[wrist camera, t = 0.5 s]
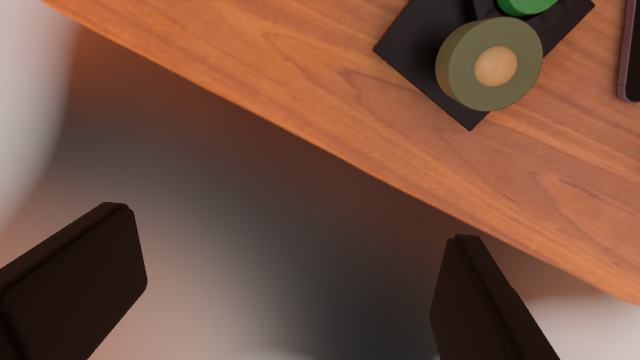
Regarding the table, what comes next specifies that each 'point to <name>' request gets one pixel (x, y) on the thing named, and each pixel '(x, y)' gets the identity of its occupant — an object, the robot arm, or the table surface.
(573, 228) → the table surface
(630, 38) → the smartphone
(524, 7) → the lamp switch
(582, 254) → the table surface
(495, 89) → the lamp
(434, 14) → the lamp base
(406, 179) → the table surface
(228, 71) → the table surface
